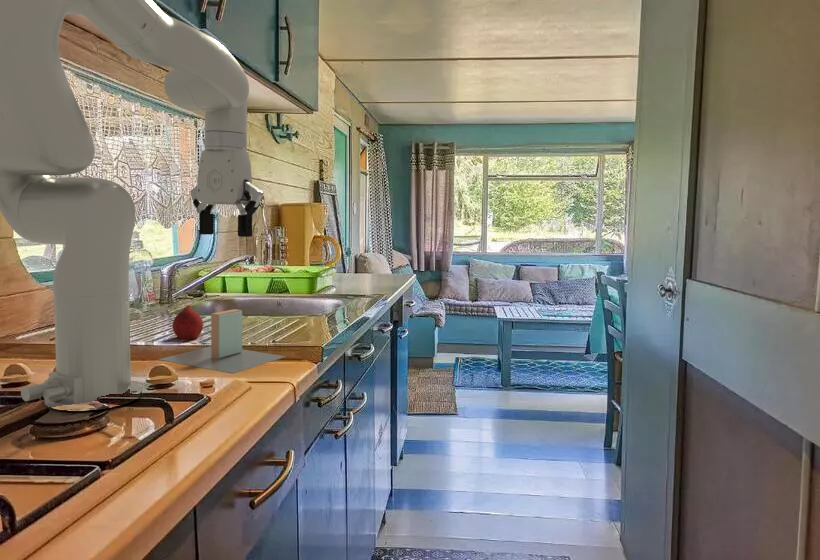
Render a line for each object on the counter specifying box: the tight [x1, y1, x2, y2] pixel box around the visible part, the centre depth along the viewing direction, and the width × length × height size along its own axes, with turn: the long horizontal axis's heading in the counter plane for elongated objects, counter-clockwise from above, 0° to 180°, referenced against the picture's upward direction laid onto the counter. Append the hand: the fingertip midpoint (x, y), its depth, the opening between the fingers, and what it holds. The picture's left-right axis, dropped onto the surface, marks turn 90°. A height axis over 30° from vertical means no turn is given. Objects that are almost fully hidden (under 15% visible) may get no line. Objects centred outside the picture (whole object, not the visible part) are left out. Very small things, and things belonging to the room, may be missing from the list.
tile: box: [210, 308, 243, 359], centre depth 113 cm, size 6×2×8 cm, turn 154°
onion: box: [172, 304, 204, 340], centre depth 127 cm, size 6×6×8 cm
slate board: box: [157, 345, 287, 375], centre depth 112 cm, size 14×17×1 cm
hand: (225, 235), depth 118 cm, fingers open, 9 cm apart
